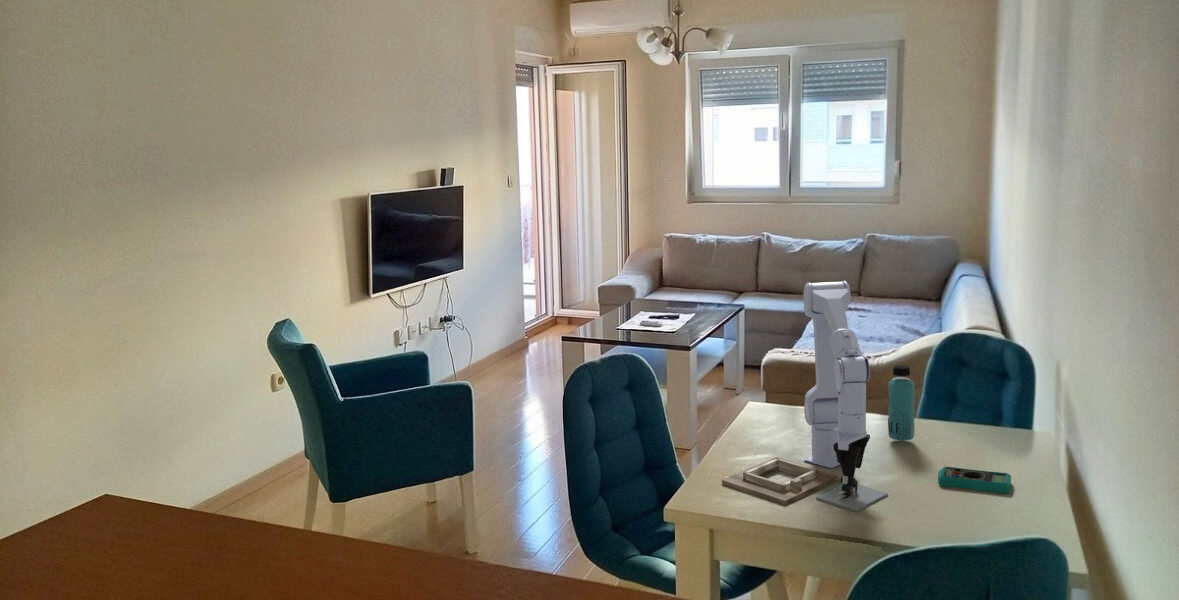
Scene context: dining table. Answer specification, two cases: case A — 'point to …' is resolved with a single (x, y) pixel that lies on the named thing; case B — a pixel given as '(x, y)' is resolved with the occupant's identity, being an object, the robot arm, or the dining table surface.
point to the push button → (848, 482)
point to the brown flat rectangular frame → (777, 491)
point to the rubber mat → (853, 498)
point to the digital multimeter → (975, 480)
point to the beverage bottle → (901, 405)
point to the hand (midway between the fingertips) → (852, 471)
